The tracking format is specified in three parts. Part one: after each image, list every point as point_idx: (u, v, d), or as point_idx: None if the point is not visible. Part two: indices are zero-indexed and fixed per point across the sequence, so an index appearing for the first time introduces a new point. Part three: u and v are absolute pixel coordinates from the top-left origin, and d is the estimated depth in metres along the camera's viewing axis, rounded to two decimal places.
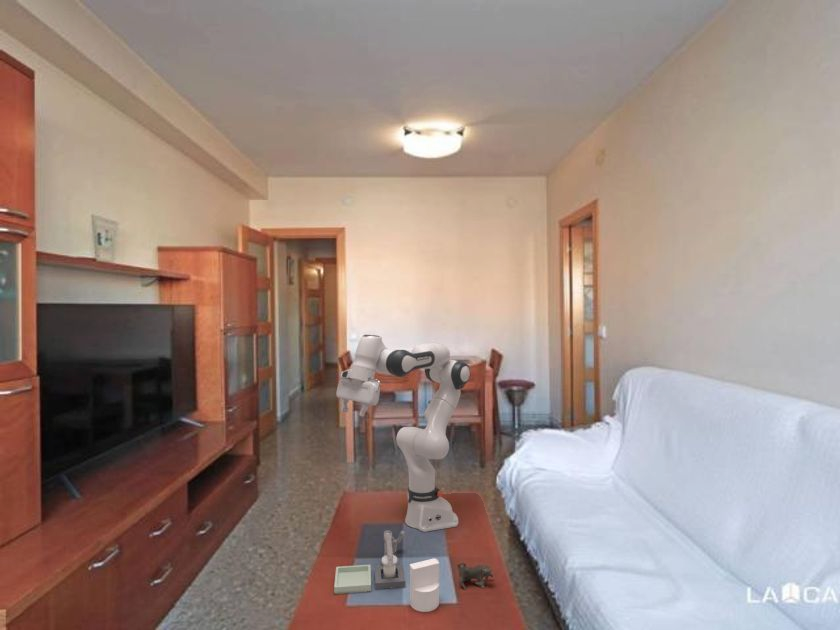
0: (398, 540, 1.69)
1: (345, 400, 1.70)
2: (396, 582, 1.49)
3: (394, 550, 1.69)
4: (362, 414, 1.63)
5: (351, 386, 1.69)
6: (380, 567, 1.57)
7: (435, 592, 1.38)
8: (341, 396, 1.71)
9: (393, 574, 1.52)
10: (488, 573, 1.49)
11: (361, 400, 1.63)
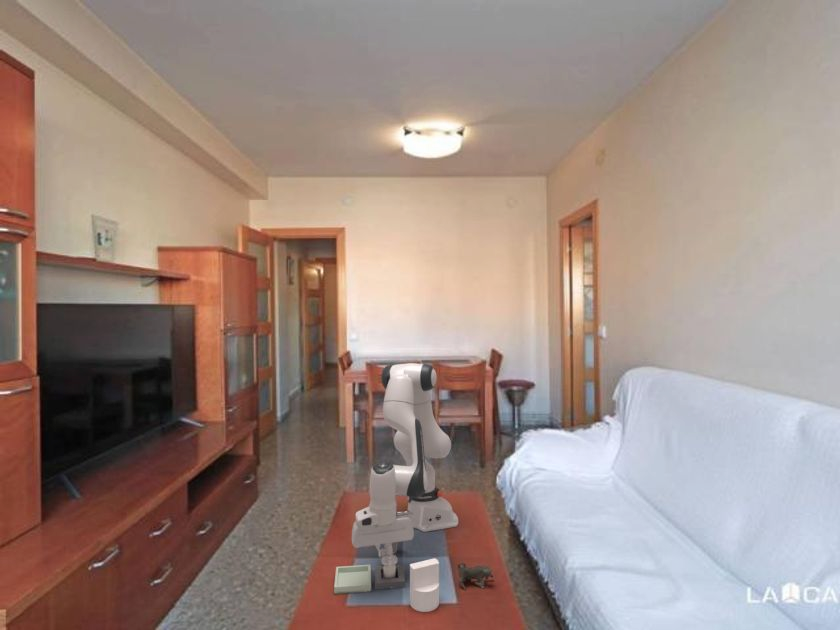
0: None
1: None
2: (396, 582, 1.49)
3: (394, 550, 1.69)
4: None
5: (376, 530, 1.48)
6: (380, 567, 1.57)
7: (435, 592, 1.38)
8: (364, 545, 1.47)
9: (393, 574, 1.52)
10: (488, 574, 1.49)
11: (399, 540, 1.50)
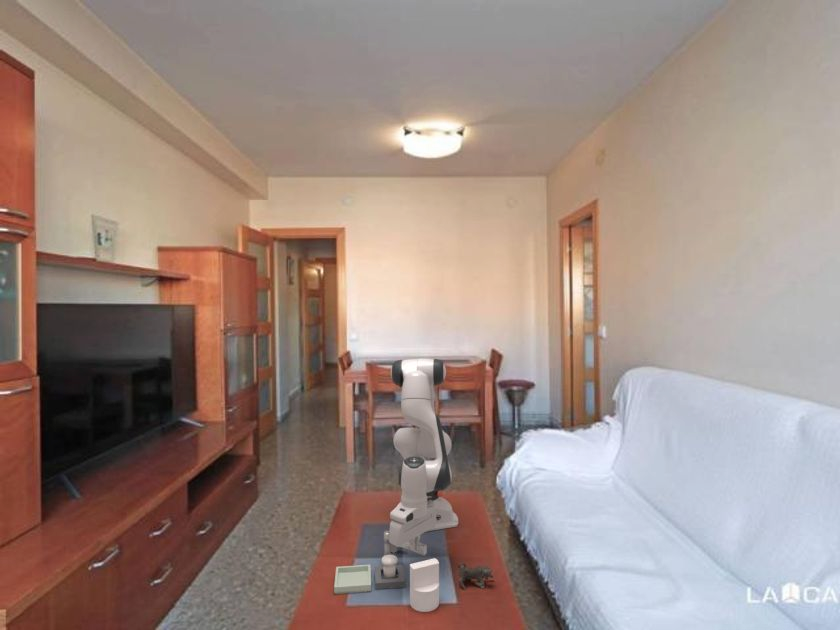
0: None
1: None
2: (396, 582, 1.49)
3: (394, 550, 1.69)
4: None
5: (412, 524, 1.51)
6: (380, 567, 1.57)
7: (435, 592, 1.38)
8: (405, 542, 1.48)
9: (393, 574, 1.52)
10: (488, 574, 1.48)
11: (427, 529, 1.57)
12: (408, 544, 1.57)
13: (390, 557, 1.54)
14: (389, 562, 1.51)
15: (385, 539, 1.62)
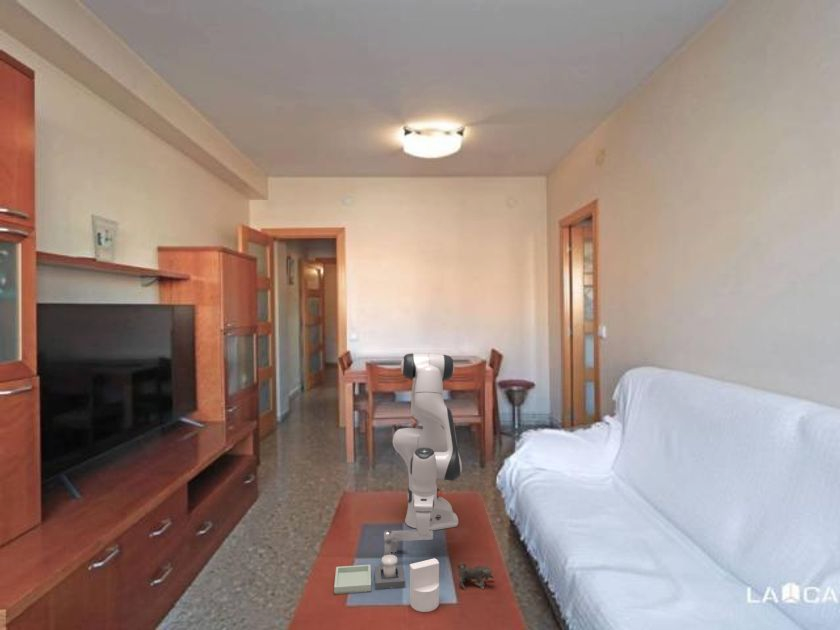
0: None
1: None
2: (396, 582, 1.49)
3: (394, 550, 1.69)
4: None
5: None
6: (380, 567, 1.57)
7: (435, 592, 1.38)
8: None
9: (393, 574, 1.52)
10: (488, 574, 1.48)
11: None
12: (415, 535, 1.63)
13: (390, 557, 1.54)
14: (389, 562, 1.51)
15: (388, 539, 1.61)
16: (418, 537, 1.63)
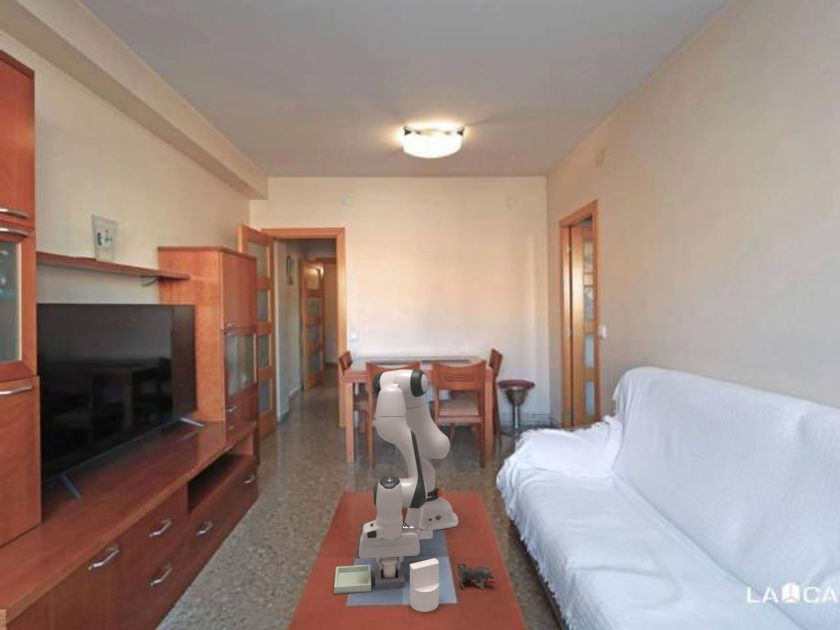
0: None
1: (380, 557, 1.52)
2: (396, 582, 1.49)
3: None
4: (399, 566, 1.53)
5: (382, 543, 1.51)
6: None
7: (435, 592, 1.38)
8: (370, 557, 1.50)
9: (393, 574, 1.52)
10: (488, 575, 1.48)
11: (405, 554, 1.52)
12: None
13: (390, 557, 1.53)
14: (389, 562, 1.51)
15: None
16: None
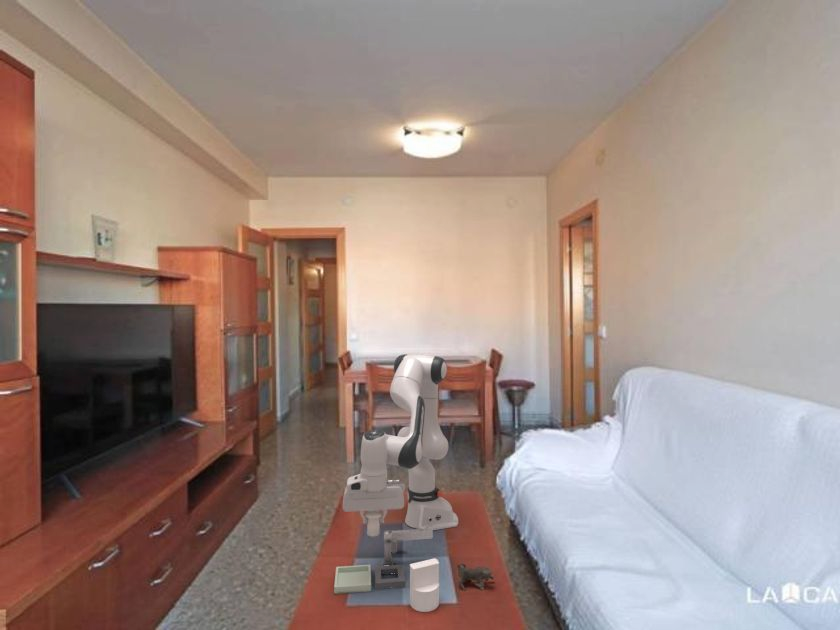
0: None
1: None
2: (396, 582, 1.49)
3: (394, 550, 1.69)
4: (383, 519, 1.52)
5: (366, 495, 1.50)
6: (380, 567, 1.57)
7: (435, 592, 1.38)
8: (354, 509, 1.49)
9: (377, 527, 1.50)
10: (488, 575, 1.48)
11: (389, 507, 1.50)
12: (415, 534, 1.63)
13: (374, 511, 1.52)
14: (373, 515, 1.49)
15: (388, 539, 1.61)
16: (418, 536, 1.64)
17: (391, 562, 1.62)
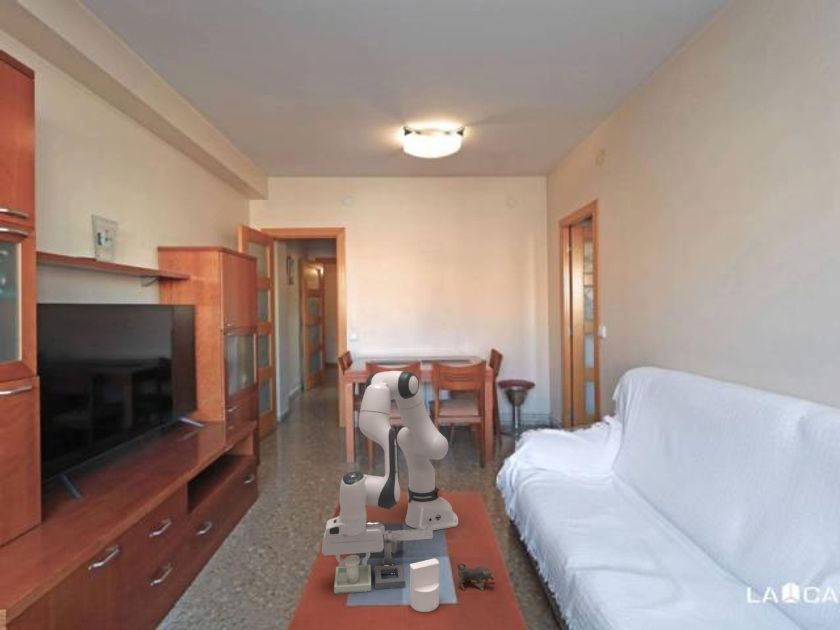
0: None
1: None
2: (396, 582, 1.49)
3: (394, 550, 1.69)
4: (366, 562, 1.52)
5: (345, 539, 1.49)
6: (380, 567, 1.57)
7: (435, 592, 1.38)
8: (333, 553, 1.49)
9: (356, 574, 1.50)
10: (488, 576, 1.47)
11: (368, 551, 1.50)
12: (415, 534, 1.63)
13: (353, 558, 1.52)
14: (351, 563, 1.49)
15: (388, 539, 1.61)
16: (418, 536, 1.64)
17: (391, 562, 1.62)
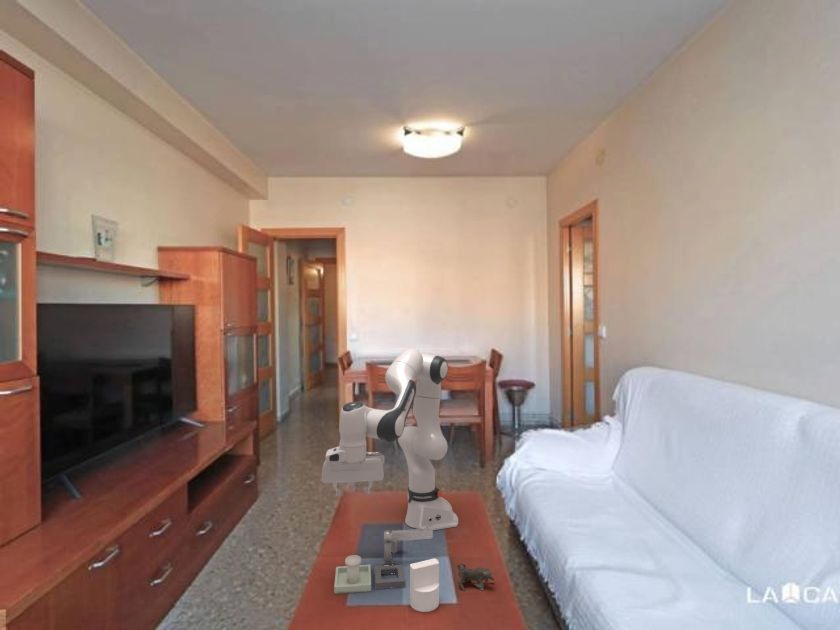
0: None
1: (336, 483, 1.50)
2: (396, 582, 1.49)
3: (394, 550, 1.69)
4: (369, 491, 1.52)
5: (344, 467, 1.49)
6: (380, 567, 1.57)
7: (435, 592, 1.38)
8: (332, 481, 1.48)
9: (356, 575, 1.50)
10: (488, 576, 1.47)
11: (368, 479, 1.50)
12: (415, 534, 1.63)
13: (354, 558, 1.52)
14: (352, 563, 1.49)
15: (388, 539, 1.61)
16: (418, 536, 1.64)
17: (391, 562, 1.62)
